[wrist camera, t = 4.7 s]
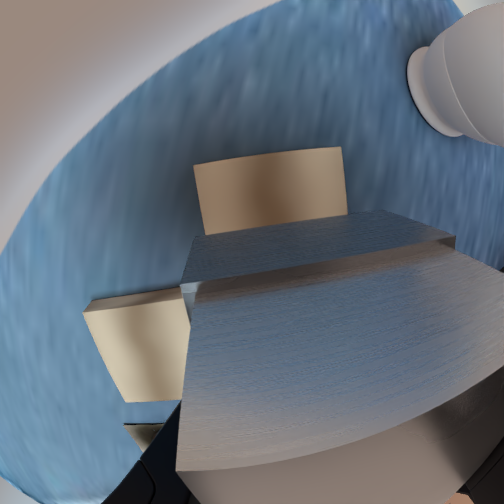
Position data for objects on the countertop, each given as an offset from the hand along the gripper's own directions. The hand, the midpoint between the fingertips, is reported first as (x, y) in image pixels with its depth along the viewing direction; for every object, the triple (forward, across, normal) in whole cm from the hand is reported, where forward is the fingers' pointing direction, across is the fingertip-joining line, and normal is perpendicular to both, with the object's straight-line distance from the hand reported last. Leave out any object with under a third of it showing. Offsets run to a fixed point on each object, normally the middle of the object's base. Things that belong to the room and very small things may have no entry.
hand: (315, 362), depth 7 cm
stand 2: (+13, -1, -1) cm, 13 cm away
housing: (+1, 0, 0) cm, 1 cm away
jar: (+13, -18, -11) cm, 25 cm away
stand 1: (+13, +8, +7) cm, 17 cm away
